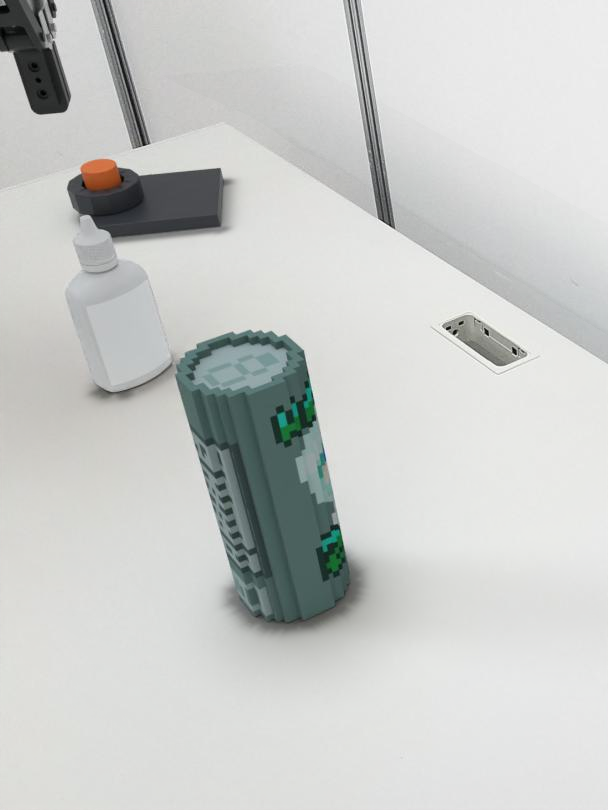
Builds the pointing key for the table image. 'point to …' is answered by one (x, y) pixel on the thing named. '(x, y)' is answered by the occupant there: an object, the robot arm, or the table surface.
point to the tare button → (100, 174)
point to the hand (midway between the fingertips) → (53, 108)
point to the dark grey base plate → (152, 202)
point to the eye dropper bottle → (115, 314)
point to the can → (266, 471)
